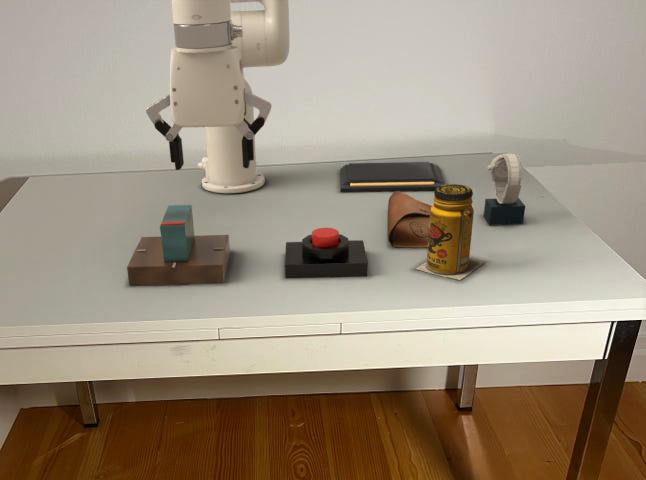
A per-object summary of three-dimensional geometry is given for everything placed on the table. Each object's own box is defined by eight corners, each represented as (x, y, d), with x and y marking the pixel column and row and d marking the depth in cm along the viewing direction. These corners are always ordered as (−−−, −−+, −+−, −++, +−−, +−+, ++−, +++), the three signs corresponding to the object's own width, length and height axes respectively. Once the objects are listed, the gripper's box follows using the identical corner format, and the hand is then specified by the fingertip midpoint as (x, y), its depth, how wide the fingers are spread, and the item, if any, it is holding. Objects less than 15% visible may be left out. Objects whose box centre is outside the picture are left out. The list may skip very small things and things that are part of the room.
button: (312, 248, 111) (312, 237, 110) (311, 238, 115) (311, 227, 114) (339, 248, 111) (339, 236, 110) (338, 238, 114) (338, 227, 113)
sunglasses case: (443, 245, 118) (423, 210, 115) (402, 266, 120) (382, 232, 118) (436, 207, 133) (418, 175, 131) (400, 226, 136) (382, 195, 133)
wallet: (439, 159, 154) (446, 181, 141) (438, 168, 155) (445, 191, 142) (340, 160, 156) (338, 182, 143) (340, 169, 157) (338, 192, 144)
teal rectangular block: (172, 239, 119) (168, 204, 116) (194, 238, 118) (191, 203, 115) (163, 261, 111) (159, 224, 108) (188, 261, 111) (184, 223, 108)
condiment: (414, 270, 112) (419, 191, 106) (442, 251, 117) (449, 175, 111) (459, 281, 107) (467, 200, 101) (486, 262, 113) (495, 183, 107)
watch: (513, 211, 131) (521, 147, 125) (525, 227, 124) (535, 161, 118) (480, 212, 131) (487, 149, 126) (491, 229, 124) (499, 162, 119)
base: (128, 287, 111) (125, 267, 109) (144, 252, 122) (142, 234, 121) (223, 285, 110) (221, 265, 108) (230, 250, 121) (229, 232, 120)
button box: (285, 278, 111) (284, 253, 109) (286, 255, 119) (285, 231, 117) (367, 276, 110) (368, 251, 108) (362, 253, 118) (363, 228, 116)
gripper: (270, 30, 102) (274, 157, 110) (144, 36, 103) (158, 161, 112) (267, 38, 95) (272, 172, 104) (132, 43, 97) (148, 175, 105)
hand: (213, 166), depth 108 cm, fingers open, 9 cm apart
